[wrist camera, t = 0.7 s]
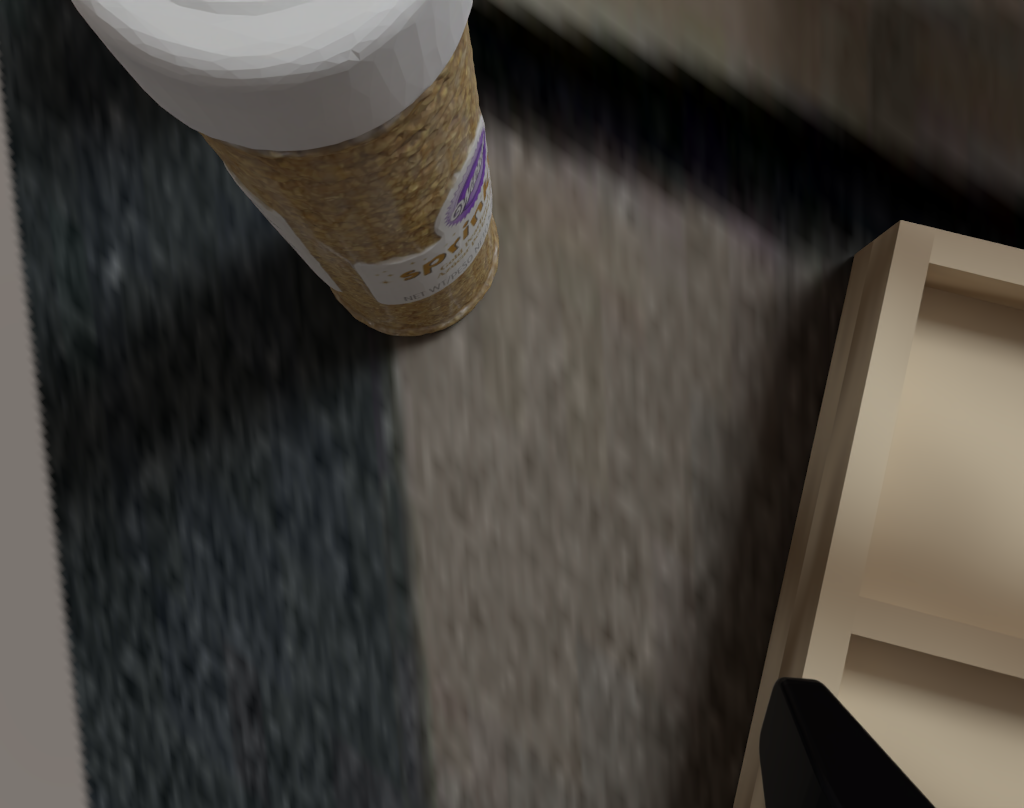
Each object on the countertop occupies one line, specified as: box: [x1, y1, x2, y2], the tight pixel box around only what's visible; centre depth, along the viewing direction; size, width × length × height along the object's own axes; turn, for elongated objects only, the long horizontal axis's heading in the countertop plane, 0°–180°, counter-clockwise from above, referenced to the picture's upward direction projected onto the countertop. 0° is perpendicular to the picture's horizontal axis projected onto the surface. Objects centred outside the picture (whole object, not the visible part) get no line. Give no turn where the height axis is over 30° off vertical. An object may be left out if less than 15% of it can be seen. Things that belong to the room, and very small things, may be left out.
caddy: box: [733, 220, 1024, 808], centre depth 19 cm, size 17×9×3 cm, turn 165°
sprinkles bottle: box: [71, 0, 499, 336], centre depth 15 cm, size 5×5×14 cm
